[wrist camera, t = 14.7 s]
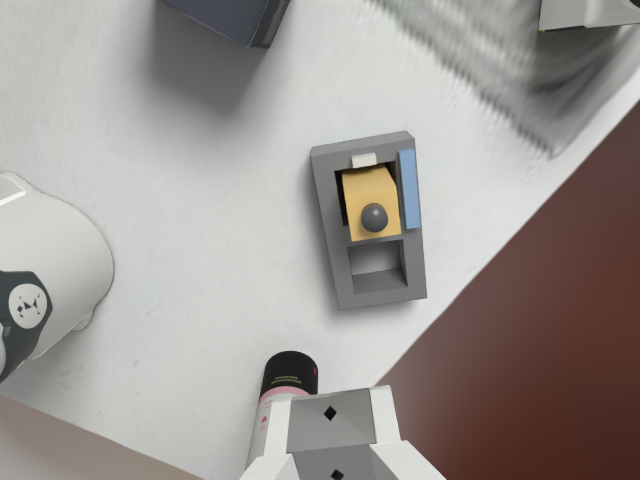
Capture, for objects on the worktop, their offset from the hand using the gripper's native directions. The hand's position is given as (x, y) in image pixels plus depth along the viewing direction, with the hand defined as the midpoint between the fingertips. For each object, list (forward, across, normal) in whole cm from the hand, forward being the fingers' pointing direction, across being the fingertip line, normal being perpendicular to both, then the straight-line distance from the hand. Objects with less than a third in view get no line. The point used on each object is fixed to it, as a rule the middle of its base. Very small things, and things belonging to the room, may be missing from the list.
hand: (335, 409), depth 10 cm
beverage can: (+31, +9, +26) cm, 42 cm away
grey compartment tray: (+31, -3, +7) cm, 32 cm away
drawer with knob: (+31, -3, +4) cm, 31 cm away
